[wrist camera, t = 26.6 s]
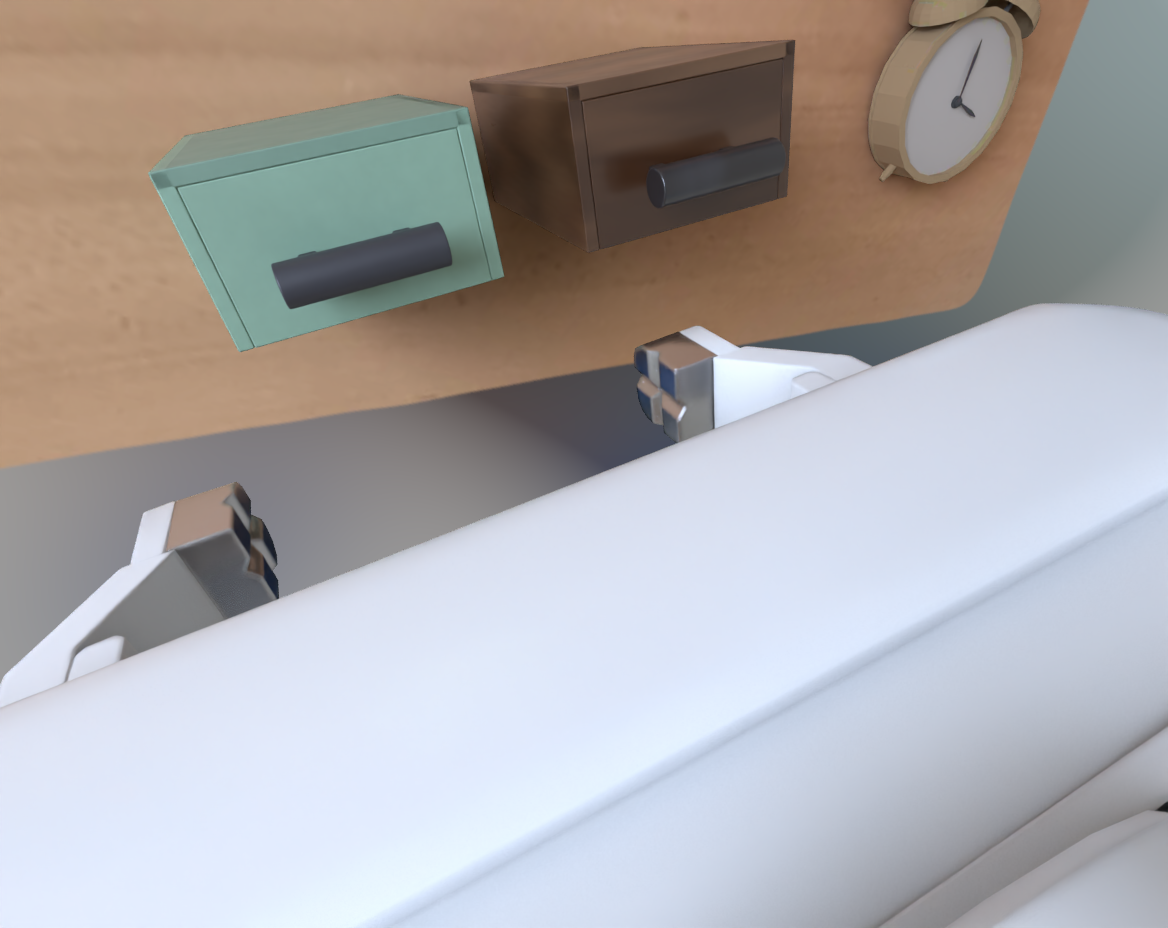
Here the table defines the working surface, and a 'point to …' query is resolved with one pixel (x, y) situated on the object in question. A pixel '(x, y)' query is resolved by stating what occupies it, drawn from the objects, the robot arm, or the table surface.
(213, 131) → the sage shelf
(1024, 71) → the table surface
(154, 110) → the table surface
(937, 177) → the alarm clock
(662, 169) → the walnut shelf
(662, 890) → the robot arm
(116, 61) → the table surface
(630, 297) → the table surface
